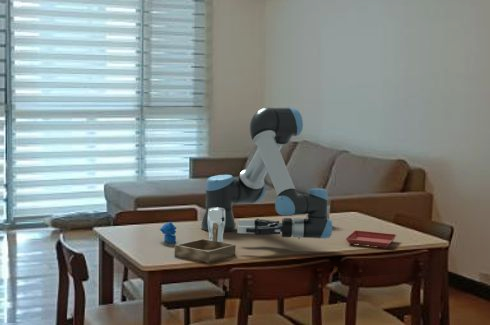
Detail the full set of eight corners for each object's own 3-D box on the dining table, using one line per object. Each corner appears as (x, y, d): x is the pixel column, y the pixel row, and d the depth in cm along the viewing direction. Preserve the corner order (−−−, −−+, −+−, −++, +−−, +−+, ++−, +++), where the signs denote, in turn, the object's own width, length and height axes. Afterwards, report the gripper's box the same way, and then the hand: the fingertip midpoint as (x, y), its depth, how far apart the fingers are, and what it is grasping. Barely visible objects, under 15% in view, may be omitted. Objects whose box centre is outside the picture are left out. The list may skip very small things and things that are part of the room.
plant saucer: (389, 250, 301) (389, 242, 301) (344, 246, 308) (345, 237, 307) (396, 242, 318) (397, 234, 318) (354, 237, 324) (354, 230, 324)
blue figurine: (171, 222, 311) (183, 220, 301) (172, 242, 310) (185, 241, 300) (155, 223, 307) (167, 222, 298) (156, 244, 307) (168, 243, 297)
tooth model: (206, 244, 301) (207, 207, 300) (224, 244, 302) (225, 207, 300) (207, 248, 294) (208, 210, 293) (225, 248, 295) (226, 210, 293)
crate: (174, 255, 280) (174, 245, 280) (202, 248, 293) (202, 238, 293) (207, 262, 271) (208, 251, 270) (235, 255, 283) (235, 244, 283)
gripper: (293, 243, 285) (236, 242, 285) (290, 231, 309) (238, 229, 309) (294, 224, 284) (237, 222, 284) (290, 212, 309) (238, 211, 309)
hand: (237, 226), depth 297 cm, fingers open, 13 cm apart
